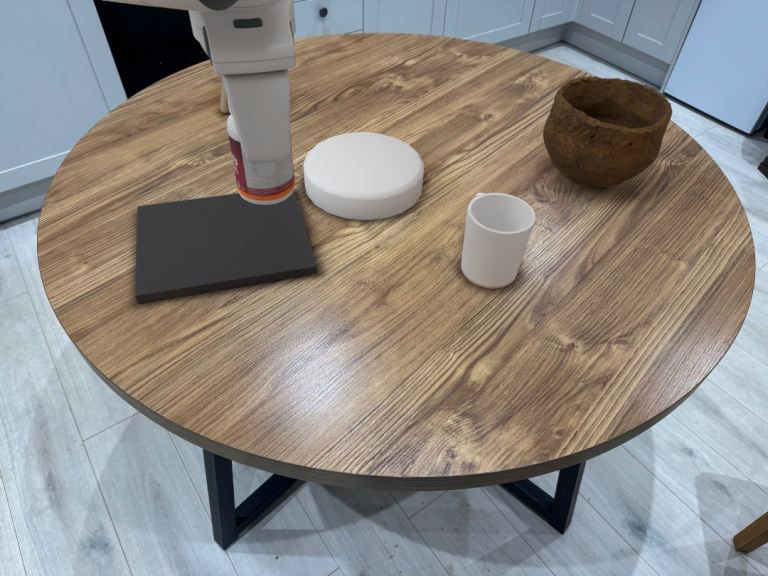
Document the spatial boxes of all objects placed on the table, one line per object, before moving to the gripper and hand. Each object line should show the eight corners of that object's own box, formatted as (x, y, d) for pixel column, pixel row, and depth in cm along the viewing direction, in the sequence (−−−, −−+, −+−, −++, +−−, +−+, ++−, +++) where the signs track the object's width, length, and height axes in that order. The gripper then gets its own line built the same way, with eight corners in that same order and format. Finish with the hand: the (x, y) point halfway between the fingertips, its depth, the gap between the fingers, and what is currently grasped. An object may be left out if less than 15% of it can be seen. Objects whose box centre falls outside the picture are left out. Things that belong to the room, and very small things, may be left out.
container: (433, 164, 102) (436, 140, 99) (406, 231, 88) (408, 206, 85) (327, 144, 105) (327, 121, 102) (286, 206, 91) (283, 181, 88)
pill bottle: (239, 175, 64) (222, 77, 56) (294, 172, 64) (285, 75, 56) (237, 209, 59) (218, 108, 51) (297, 205, 60) (287, 105, 52)
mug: (531, 283, 81) (548, 226, 73) (475, 297, 78) (487, 239, 71) (494, 236, 88) (506, 180, 81) (441, 248, 85) (449, 191, 78)
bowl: (556, 213, 93) (582, 130, 82) (519, 152, 106) (538, 74, 95) (662, 206, 95) (701, 125, 85) (614, 147, 108) (642, 71, 98)
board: (137, 303, 75) (134, 295, 74) (139, 213, 89) (137, 205, 87) (317, 274, 80) (316, 266, 79) (293, 193, 94) (292, 185, 93)
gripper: (198, -26, 55) (222, 107, 65) (212, 64, 41) (239, 215, 51) (264, -29, 56) (278, 102, 66) (298, 57, 43) (309, 206, 52)
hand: (261, 152), depth 58 cm, fingers closed on pill bottle, 6 cm apart
